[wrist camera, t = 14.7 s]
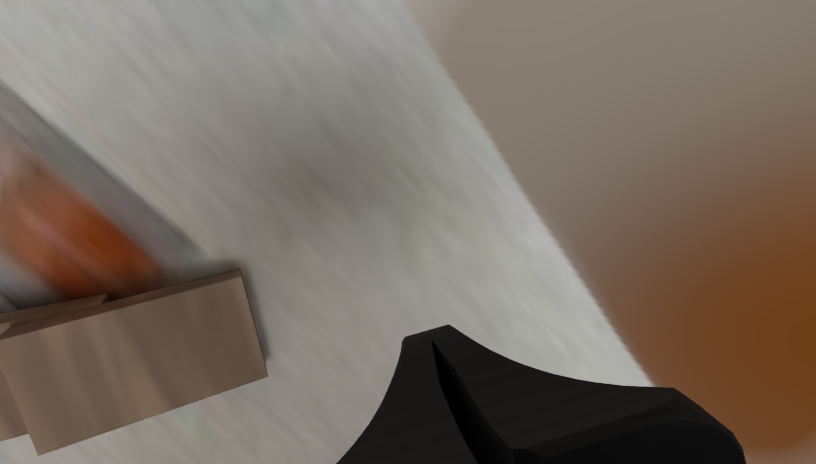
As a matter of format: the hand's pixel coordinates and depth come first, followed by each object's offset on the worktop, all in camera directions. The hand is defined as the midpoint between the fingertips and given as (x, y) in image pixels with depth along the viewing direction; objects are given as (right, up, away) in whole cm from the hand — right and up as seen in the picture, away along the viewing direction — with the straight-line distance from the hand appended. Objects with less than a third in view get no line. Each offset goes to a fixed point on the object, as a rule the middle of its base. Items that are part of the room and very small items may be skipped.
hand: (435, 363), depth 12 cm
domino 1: (-8, -1, +9) cm, 12 cm away
